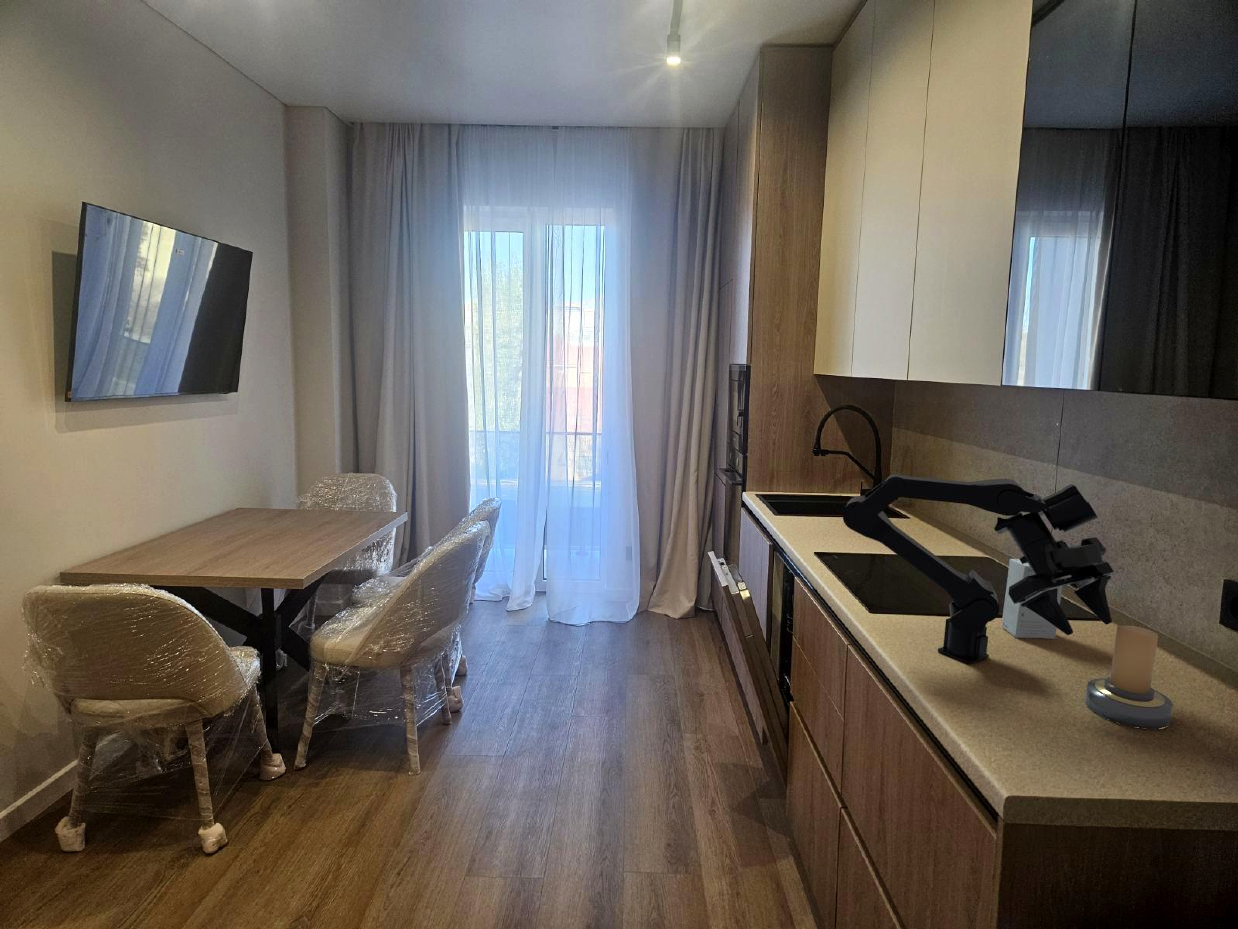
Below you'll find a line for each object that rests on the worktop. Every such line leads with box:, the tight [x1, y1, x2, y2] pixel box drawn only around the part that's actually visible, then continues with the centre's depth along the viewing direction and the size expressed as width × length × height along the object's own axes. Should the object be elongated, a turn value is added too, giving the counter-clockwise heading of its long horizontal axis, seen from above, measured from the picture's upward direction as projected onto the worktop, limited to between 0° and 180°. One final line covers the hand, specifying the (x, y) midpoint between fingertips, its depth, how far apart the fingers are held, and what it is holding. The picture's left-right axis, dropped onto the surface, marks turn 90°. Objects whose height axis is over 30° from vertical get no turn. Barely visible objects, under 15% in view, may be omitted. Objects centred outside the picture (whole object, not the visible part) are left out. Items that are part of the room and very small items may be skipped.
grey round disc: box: [1084, 677, 1174, 729], centre depth 113 cm, size 11×11×3 cm
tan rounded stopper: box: [1104, 624, 1159, 702], centre depth 112 cm, size 6×6×10 cm
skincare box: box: [1001, 558, 1063, 640], centre depth 144 cm, size 8×6×15 cm
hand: (1090, 628), depth 118 cm, fingers open, 9 cm apart
